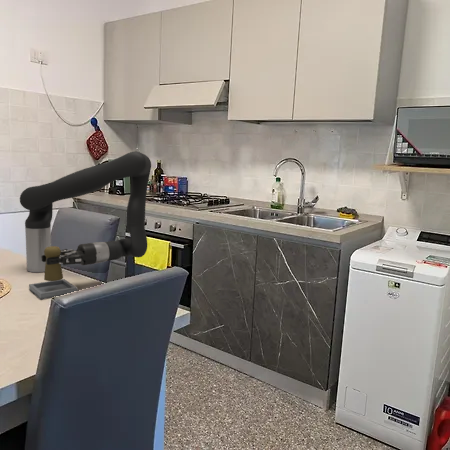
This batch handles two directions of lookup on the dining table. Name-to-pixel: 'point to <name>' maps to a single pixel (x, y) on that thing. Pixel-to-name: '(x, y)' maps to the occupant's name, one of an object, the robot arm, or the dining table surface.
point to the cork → (52, 265)
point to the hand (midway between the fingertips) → (44, 260)
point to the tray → (52, 288)
